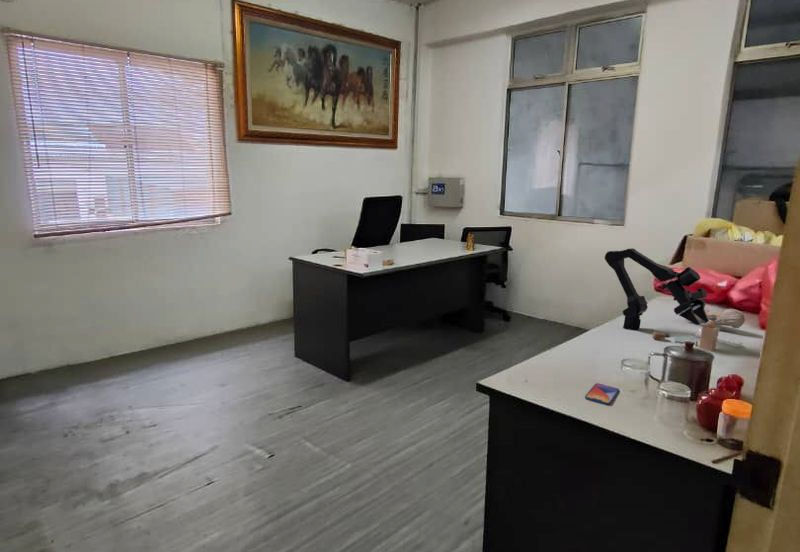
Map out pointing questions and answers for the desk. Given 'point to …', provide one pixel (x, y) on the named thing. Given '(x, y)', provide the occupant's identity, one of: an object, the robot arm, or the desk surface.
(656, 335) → the walnut block
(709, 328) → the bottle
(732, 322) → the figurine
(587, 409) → the desk surface
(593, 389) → the smartphone
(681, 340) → the mat
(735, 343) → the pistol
